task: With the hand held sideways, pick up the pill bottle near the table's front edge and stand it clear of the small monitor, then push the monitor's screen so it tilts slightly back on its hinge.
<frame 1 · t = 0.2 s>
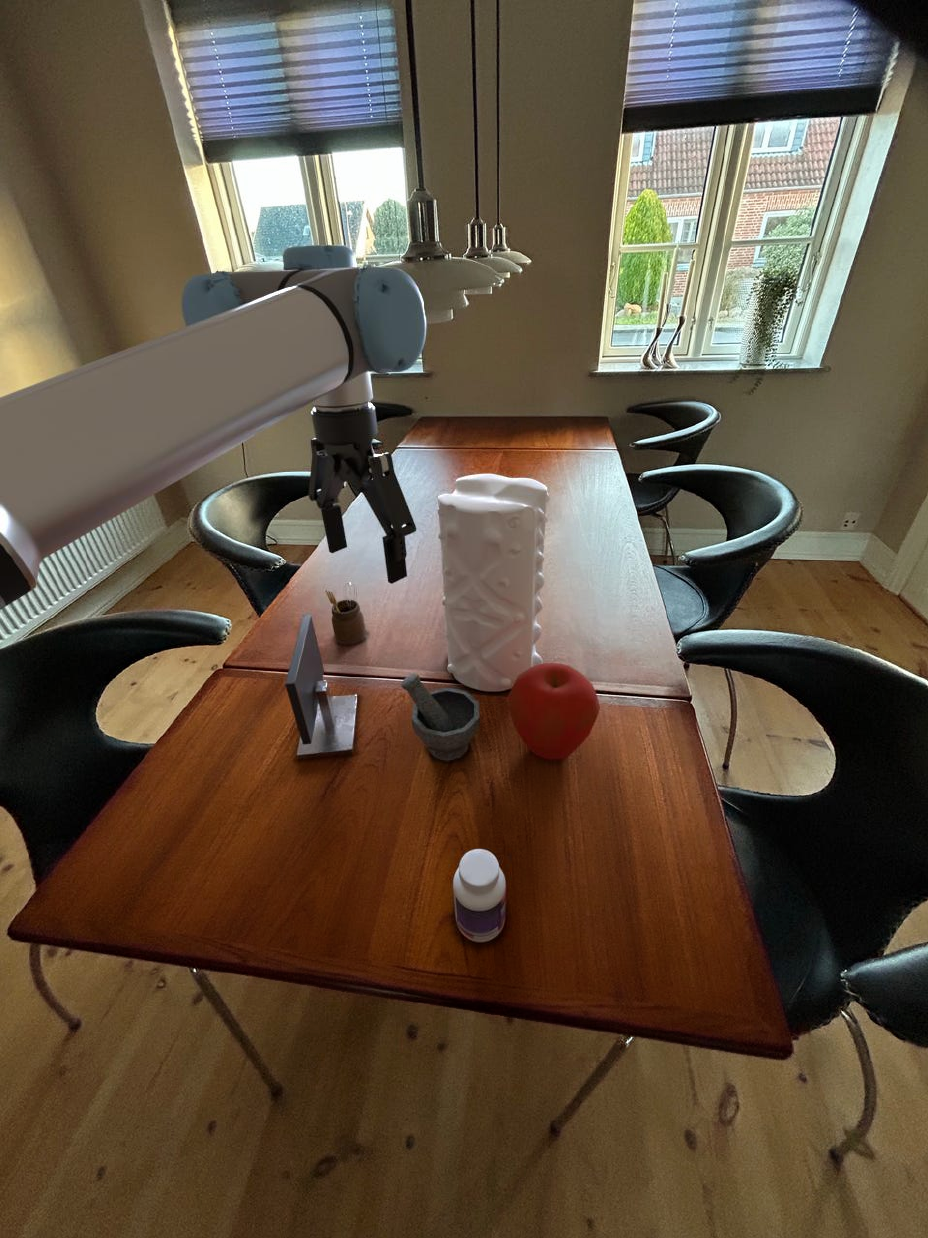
hand: (366, 563, 75), 25 cm above the table, tool pointing down, fingers open, 13 cm apart
mortar and pestle: (444, 744, 79), on the table
utensil holder: (350, 637, 102), on the table
vase: (492, 664, 94), on the table
monitor screen: (306, 676, 76), point 11 cm above the table, hinge at 0.0°
monitor stand: (326, 727, 82), on the table
pill bottle: (480, 918, 58), on the table
apple: (549, 747, 78), on the table
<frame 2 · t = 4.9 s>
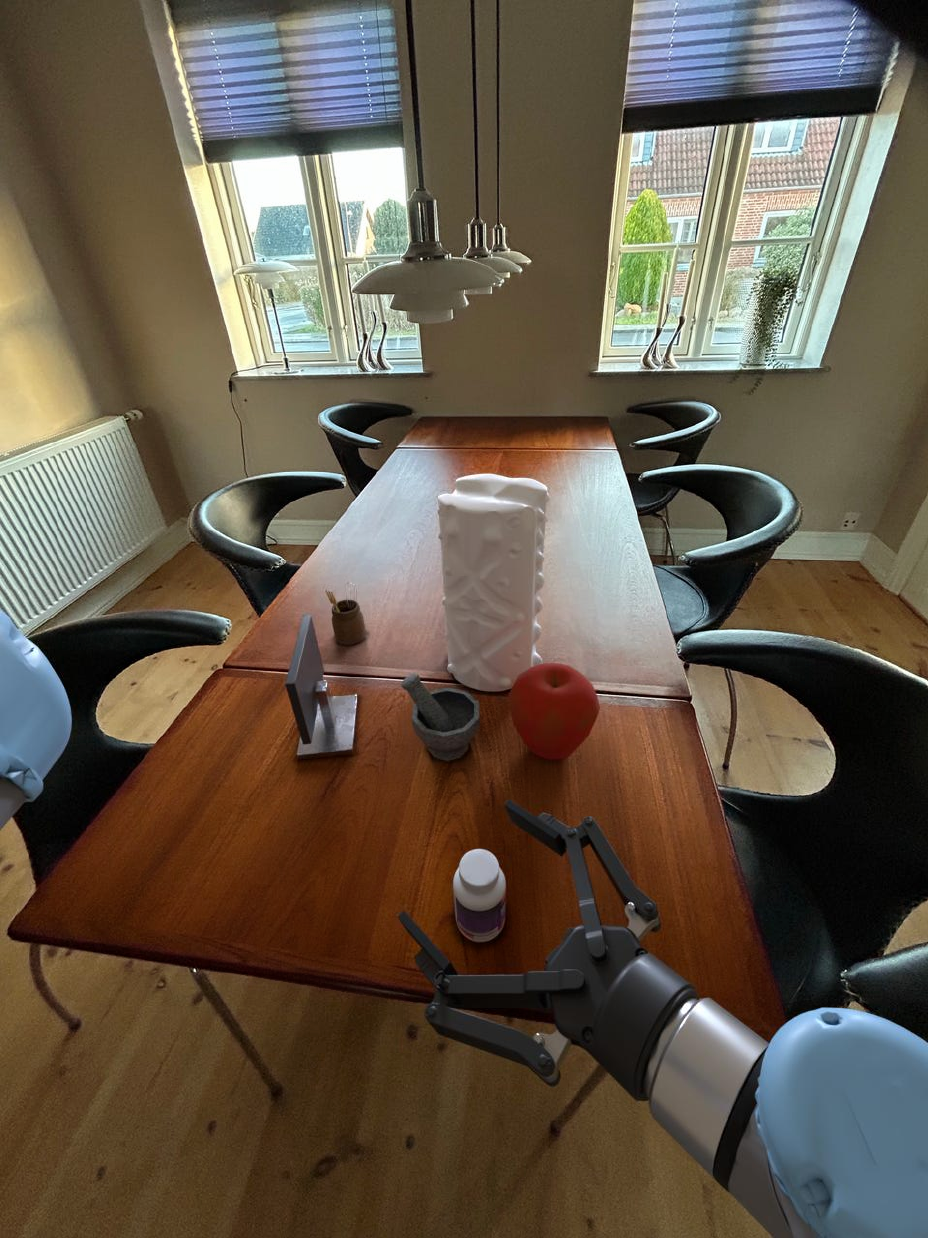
hand: (460, 862, 49), 13 cm above the table, tool horizontal, fingers open, 13 cm apart
nothing on the table moved.
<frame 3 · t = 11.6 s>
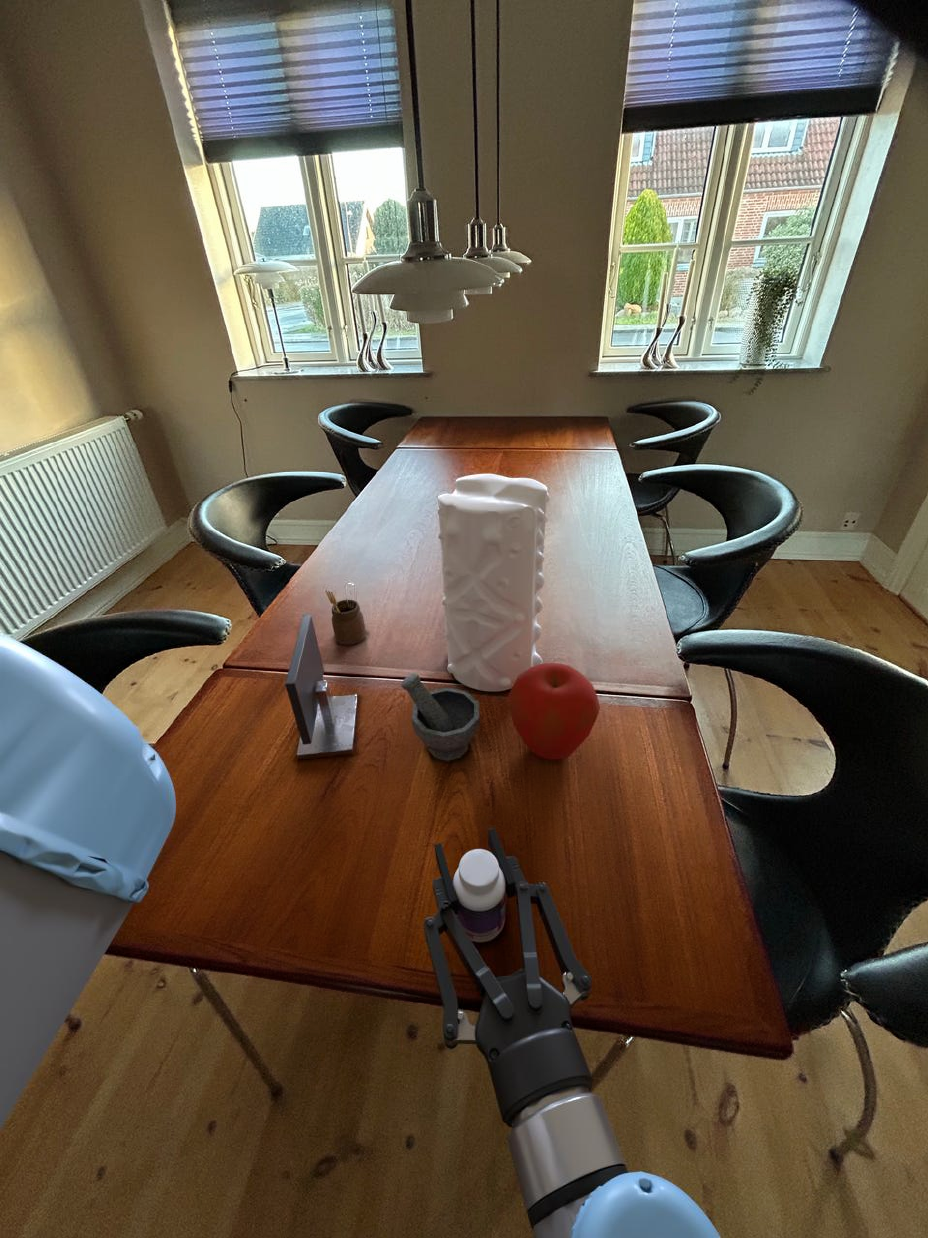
hand: (465, 843, 59), 6 cm above the table, tool horizontal, fingers closed on pill bottle, 5 cm apart
pill bottle: (480, 918, 58), on the table, touching gripper
everything else where it was.
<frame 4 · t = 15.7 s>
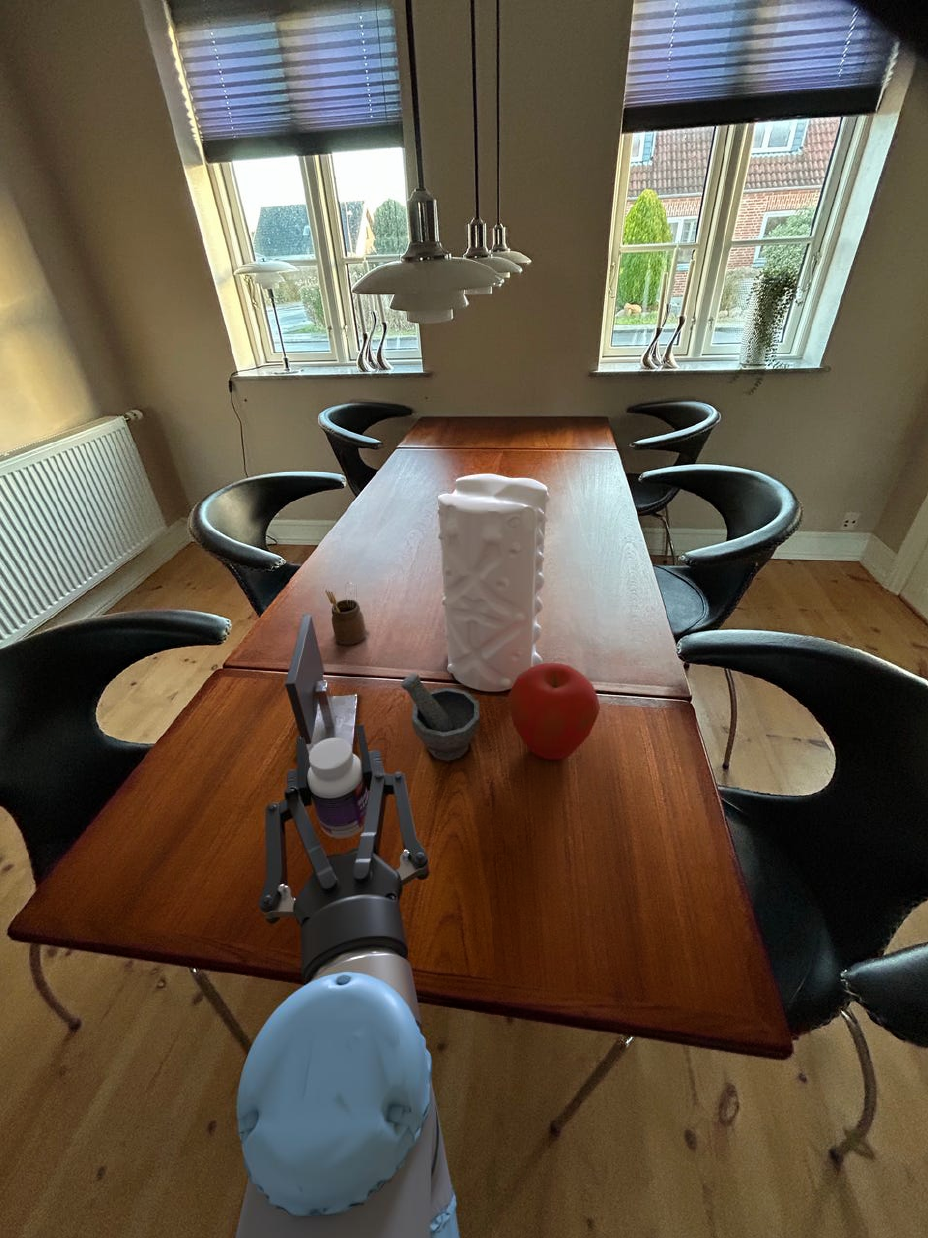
hand: (332, 741, 56), 18 cm above the table, tool horizontal, fingers closed on pill bottle, 5 cm apart
pill bottle: (346, 818, 55), point 12 cm above the table, touching gripper
everything else where it was.
when the fingers open (6 cm above the table, at t = 20.1 s): pill bottle stays where it is, on the table.
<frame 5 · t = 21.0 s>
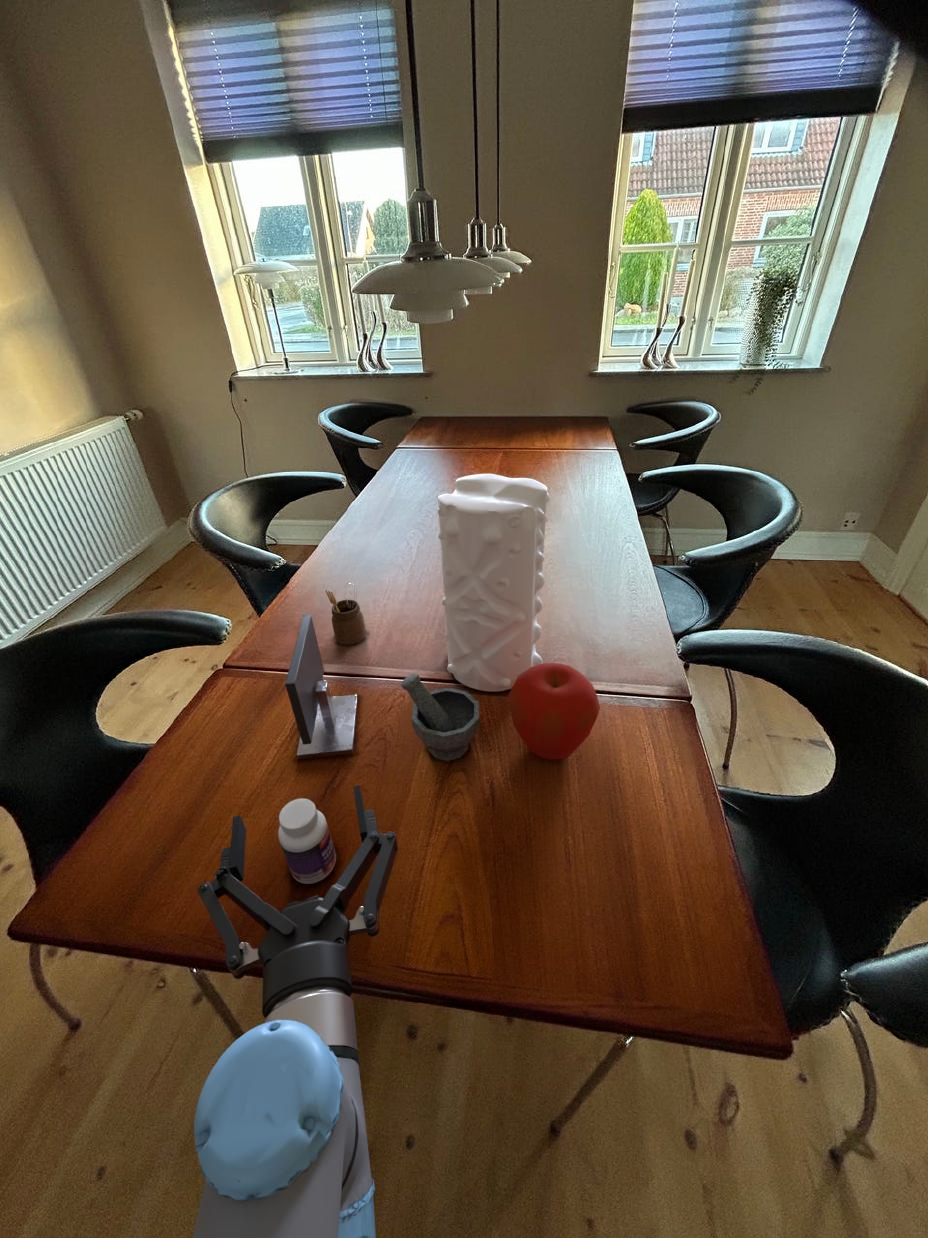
hand: (300, 807, 63), 7 cm above the table, tool horizontal, fingers open, 13 cm apart
pill bottle: (314, 864, 64), on the table
everything else where it was.
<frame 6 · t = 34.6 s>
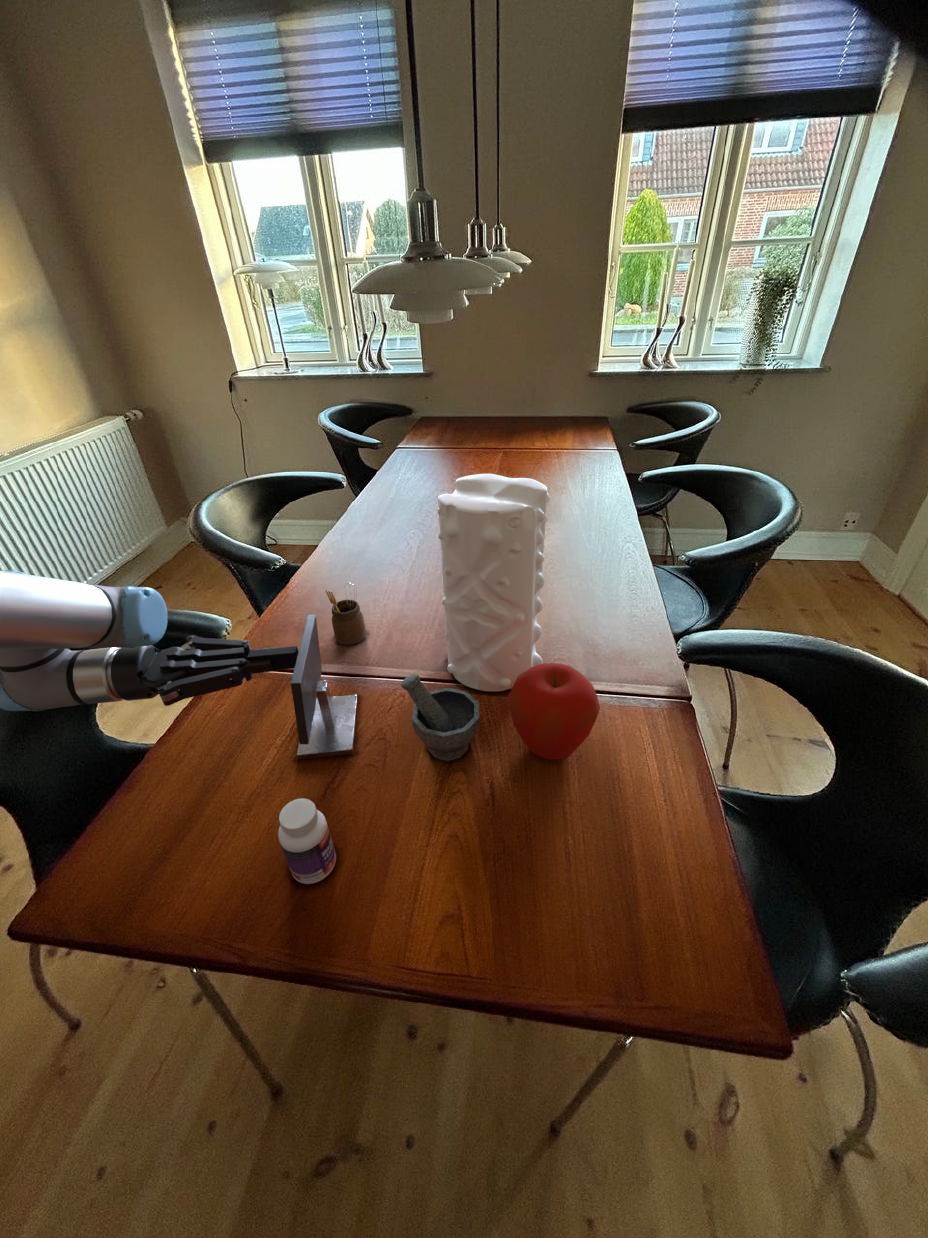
hand: (298, 656, 75), 14 cm above the table, tool horizontal, fingers closed
monitor screen: (307, 676, 76), point 10 cm above the table, hinge at 5.9°, touching gripper
everything else where it was.
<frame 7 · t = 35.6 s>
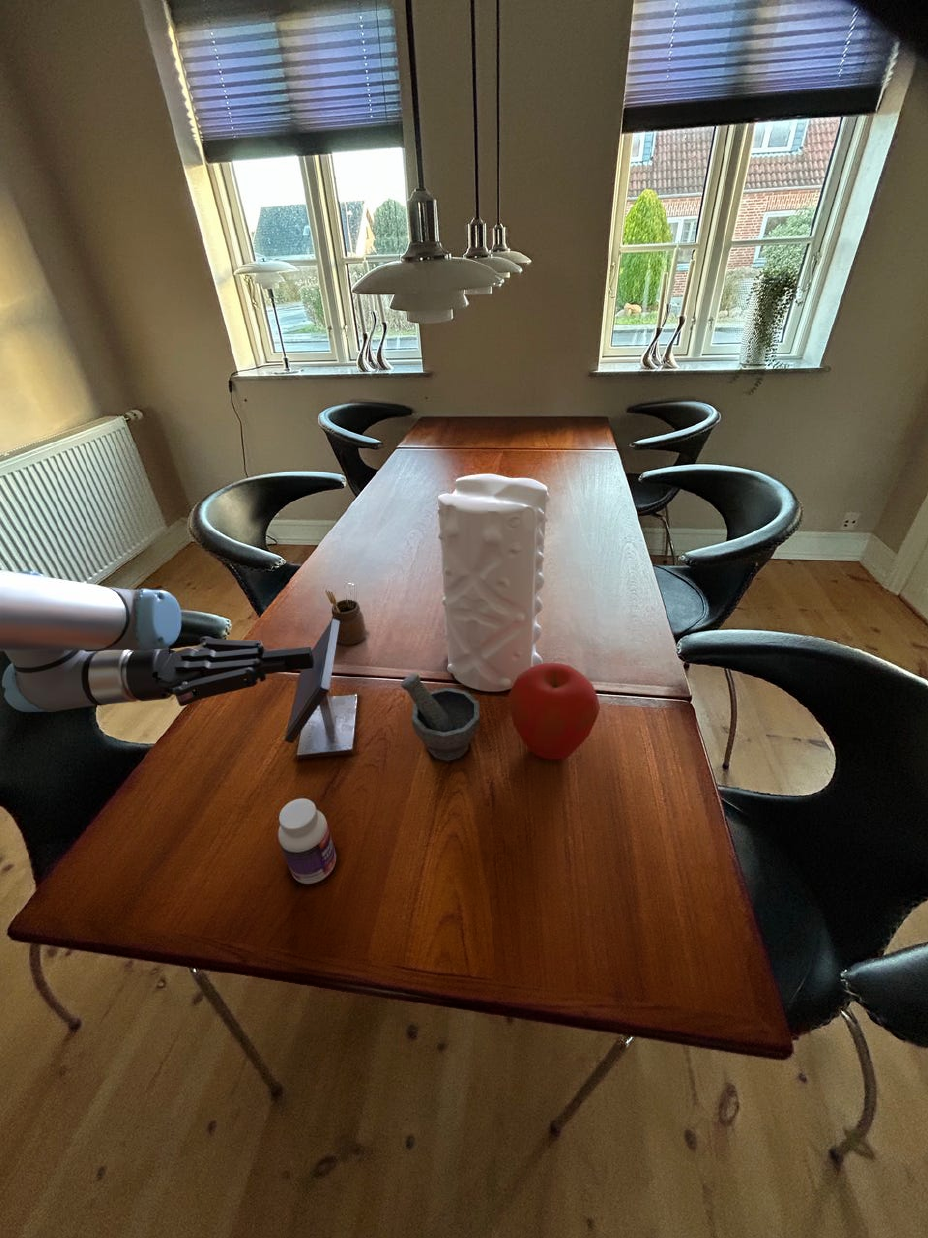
hand: (311, 657, 75), 14 cm above the table, tool horizontal, fingers closed
monitor screen: (313, 677, 77), point 10 cm above the table, hinge at 36.4°, touching gripper
everything else where it was.
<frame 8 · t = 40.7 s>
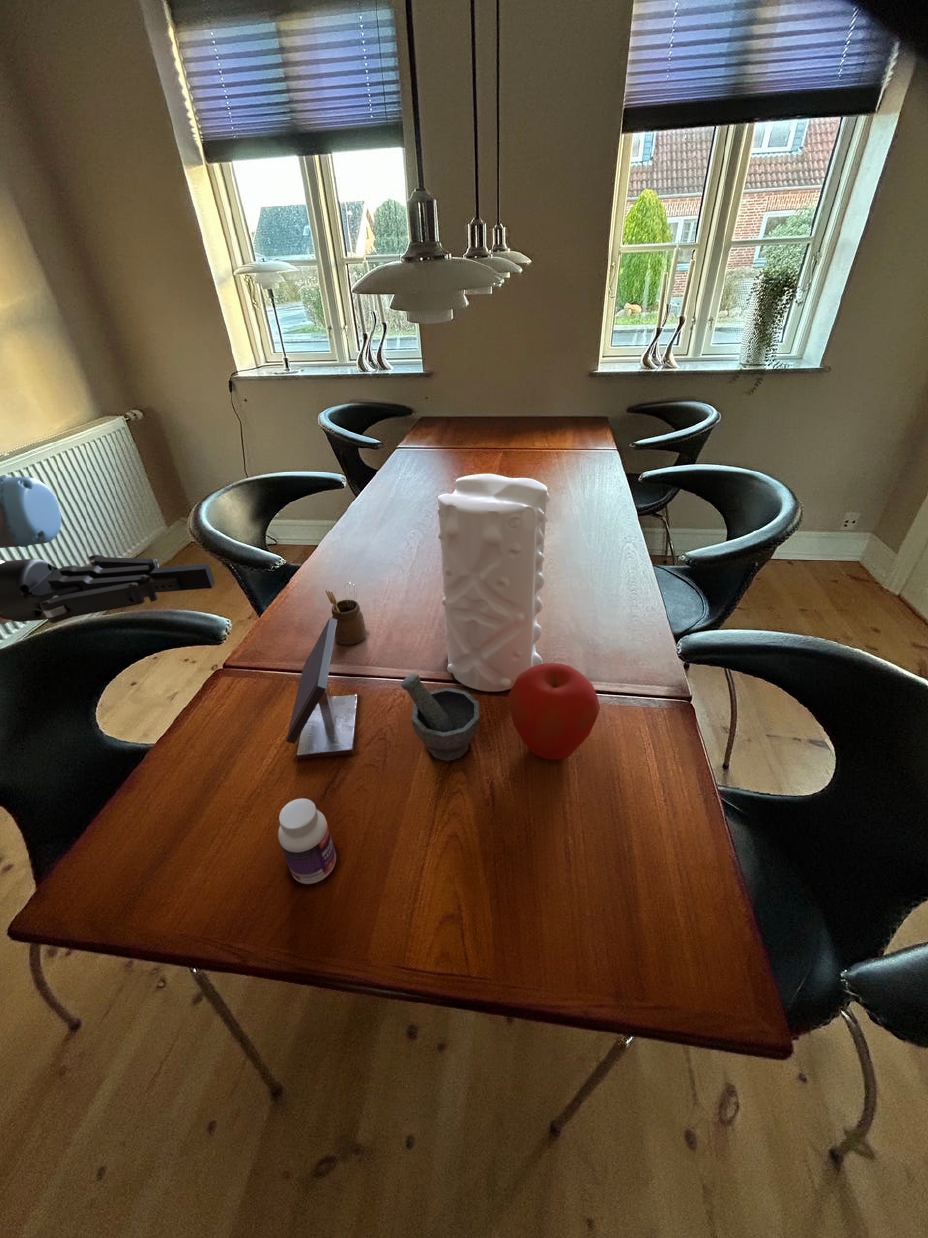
hand: (210, 575, 66), 28 cm above the table, tool horizontal, fingers closed
monitor screen: (312, 677, 77), point 10 cm above the table, hinge at 32.7°
everything else where it was.
at the end: pill bottle inside the target area (0.1 cm from its centre), on the table; pill bottle tilted 0°; monitor screen at +33° (first picture: +0°) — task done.
